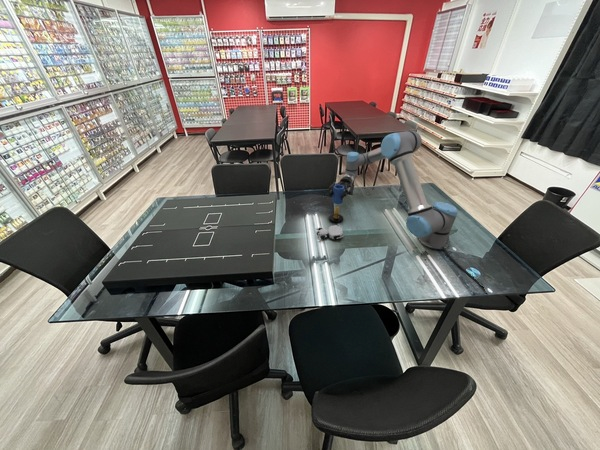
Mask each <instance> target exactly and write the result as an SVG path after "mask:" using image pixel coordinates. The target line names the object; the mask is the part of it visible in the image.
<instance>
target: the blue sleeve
mask: <svg viewBox="0 0 600 450" xmlns="http://www.w3.org/2000/svg"><path fill="white" fill-rule="evenodd" d="M344 191H345V189H344V186H343V185H334V188H333V195H332V203H333V204H335V205H341V204H343V203H344V198H343V199H342V200H341V195H342V194H343V192H344Z"/></svg>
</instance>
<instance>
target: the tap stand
mask: <svg viewBox="0 0 600 450" xmlns="http://www.w3.org/2000/svg"><path fill="white" fill-rule="evenodd" d="M328 221H329V222H330V223H331V224H334V225H338V224H339V225H340V224H342V223H343V222H344V216H343V215H342V214H340V207H339V206H338V205H337V206H335V207H334V213H332V214H330V215H329V216H328Z"/></svg>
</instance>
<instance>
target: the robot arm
mask: <svg viewBox="0 0 600 450" xmlns="http://www.w3.org/2000/svg"><path fill="white" fill-rule="evenodd" d="M422 141H423V140H422V136H421V135H420V133H419V132H417V131H416V130H406V131H405V130H404V131H400V132H399V131H398V132H393V133H389V134H387V135H386V136H384V138H382V141H381V144H380V147H377V148H375V149H372V150H370V151H368V152H365V153H359V152H357V151H349V152H347V155H346V160H345V161H346V163H345V171H344V175H343V176H342V177H341V178H340V179H339V181H338V182H336V181H333V183H331V184H330V185H329V187H328V192H329V194H328V197H329V198H331V197H333V188H334V185H343V186H344V192H343V194H342V195H341V200H342V199H343V200H344V199H345V198H346V197H347V196H351V195H352V193H353V190H355V184H353V183H354V181H355V180H356V179H357V177H358V168H359V167H363V166H366V165H371V164H373V163H376V162H379V161H382V160H385V159H388V161H389V164H390V165H393V166H394V168H395V172H396V174H397V177H398V180H399V183H400V186H401V188H402V189H401V190H402V193H403V195H404V198H405V200H406V204H407V207H408V211H407V216H408V217H407V219H406V221H405V227H406V229H407V230H408V232H409V233H410V234H411V235H413V236H414V237H417V238H418V241H419V243H420V244H421V245H422V246H424V247H426V248H428V249H430V250H435V251H444V253H445V254H446V256H447V257H448V258H449V259H450V260H451V261H452V262H453V263H454V264H455V265H456V266H457V267H458V268H459V269H461V270H462V272H464V273H465V274H466V275H468V276H469V277H470V278H472V279H473V281H475V282H476V283H477V284H478V285H479V286H480V287H481V285H480V284H479V282H480V281H479V280H478V279H477V278H476V279H477V280H478V281H479V282H478V281H477V280H476V279H474V278H473V277H474V276H473V275H472V274H471V273H470V272H468V271H467V270H466V269H465V268H464V267H463V266H462V265H461V264H460V263H458V262H457V261H456V260H455V258H453V256H451V254H450V253H449V252H448V250H447V249H448V248H449V246H450V232H451V231H452V229H453V225H454V223H455V220H456V219H457V217H458V213H459V210H458V208H456V206H454V205H452V204H451V203H447V202H442V201H436V202H434V203H433V205H431V204H429V203H428V202H427V199H426V196H425V193H424V190H423V187H422V184H421V181H420V178H419V176H418V173H417V170H416V166H415V164H414V162H413V156H414V154H415V153H416V152H417V151H418V150H420V148H421V145H422V143H423V142H422ZM471 275H472V276H473V277H472V276H471Z"/></svg>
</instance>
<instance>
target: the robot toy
mask: <svg viewBox="0 0 600 450" xmlns="http://www.w3.org/2000/svg"><path fill="white" fill-rule="evenodd" d="M315 231H317V232H316V236H317V237H318V238H317V240H318V241H323V240H325V239H326V238H330V239H332V240H339V239H342V238H344V235H343V234H344V230H343V228H342V227H341V226H340V223H339V224H334V225H330V226H329V227H328V228H323V227H316V228H315Z"/></svg>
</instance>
